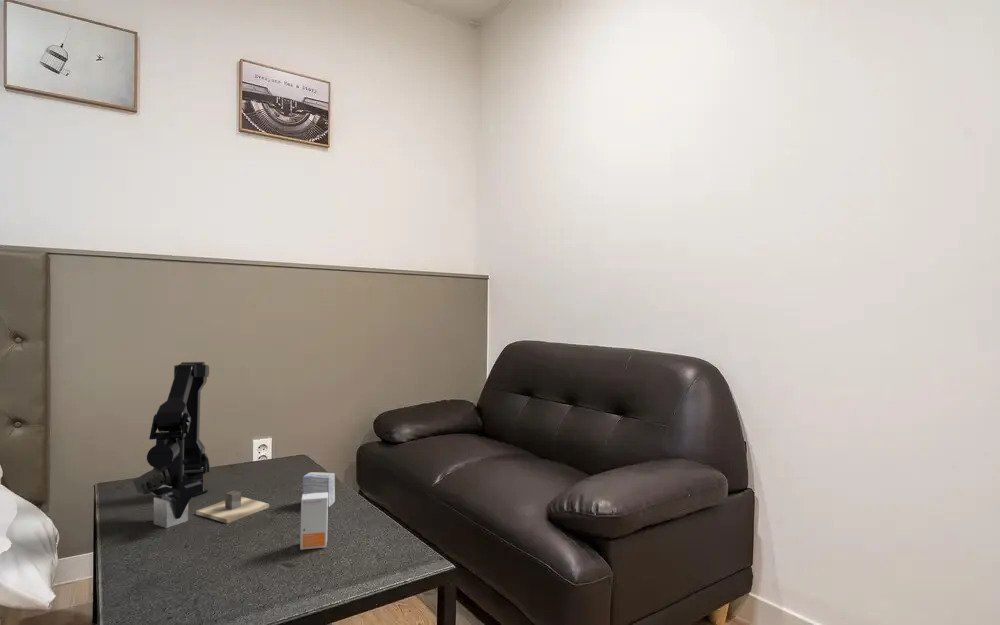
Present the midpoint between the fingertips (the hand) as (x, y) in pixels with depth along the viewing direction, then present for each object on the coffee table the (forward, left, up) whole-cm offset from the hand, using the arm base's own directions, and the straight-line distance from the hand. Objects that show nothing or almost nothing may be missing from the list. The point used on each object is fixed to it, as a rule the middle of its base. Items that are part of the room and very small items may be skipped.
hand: (171, 516), depth 142 cm
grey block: (0, 0, -2) cm, 2 cm away
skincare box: (+43, +8, -2) cm, 44 cm away
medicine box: (+24, +28, -2) cm, 37 cm away
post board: (+7, +13, -2) cm, 15 cm away
